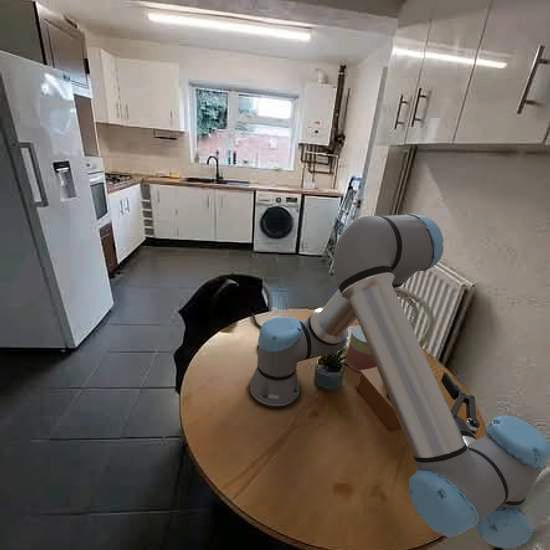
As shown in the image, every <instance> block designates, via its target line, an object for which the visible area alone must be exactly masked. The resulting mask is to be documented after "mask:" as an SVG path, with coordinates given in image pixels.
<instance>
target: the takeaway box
mask: <svg viewBox="0 0 550 550" xmlns="http://www.w3.org/2000/svg"><path fill="white" fill-rule="evenodd" d="M359 373H360V375H359V380H358V385H357V390H358V391H359V392H360V394H361V395H362V396H363V398H364V399H365V400H366V401H367V402H368V404H369V405H370V406H371V407H372V409H373V410H374V411H375V413H376V414H377V415H378V416H379V418H380V419H381V420H382V422H383V423H384V424H385V425H386V426H387V428H388V430H392V429H395V428H399V427H401V425H400V423H399V420H398V418H397V415H396V413H395V410H394V408H393V405H392V403H391V401H390V400H389V399H388V398H387V397H386V395H387V391H386V388H385V386H384V383H383V381H382V378H381V376H380V373H379V371H378V369H377V367H375V368H370V369H365V370H360V372H359Z"/></svg>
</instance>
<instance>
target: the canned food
mask: <svg viewBox="0 0 550 550" xmlns="http://www.w3.org/2000/svg"><path fill="white" fill-rule="evenodd" d="M345 362H346V364H347V365H348V366H349V367H350V368H351V369H353V370H355V371H357V372H359V373H360V370H365V369H370V368H375V367H377V366H376V364H375V361H374V359H373V356H372V354H371V351H370V349H369V346H368V344H367V341H366V339H365V337H364V334H363V332H362V329H361V327H360V324H358V325H355V326H353V327H352V328H351V332H350V338H349V343H348V348H347V353H346V357H345Z"/></svg>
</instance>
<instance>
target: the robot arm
mask: <svg viewBox="0 0 550 550" xmlns="http://www.w3.org/2000/svg"><path fill="white" fill-rule="evenodd" d="M444 241H445V240H444V236H443V232H442V230H441V228H440V227H439V225H438V224H437V223H436V222H435V221H434V220H433V219H431V218H430V217H428V216H425V215H421V214H414V213H408V214H407V213H406V214H392V215H366V216H361V217H359V218H356V219H355V220H353V221H351V222H350V223H349V224H347V225H346V226H345V227H344V229H342V231H341V233H340V234H339V236H338V238H337V240H336V243H335V246H334V250H333V261H332V262H333V263H332V266H333V272H334V274H333V275H334V278H335V282H336V285H337V288H338V289H337V290H336V291H335V292H334V294H333V295H332V296H331V298H330V299H329V300H328V301H327V303H326V304H325V305H324V306H323V307H318V308H316V309H315V310H314V311H313V312H312V313H311V314H310V315H309V317H308V318H305V319H300V320H298V319H297V318H295V317H293V316H286V315H278V316H273V317H270V318H269V319H267V320H265V321H264V322H263V323H262V325H260V323H258V321H257V319H256V315H255V313H253V312H251V313H250V316H252V320H253V322H254V324H255V326H256V327H258V328H259V335H258V339H257V342H258V345H257V362H256V363H257V365H256V368H255V370H254V372H253V374H252V377H251V379H250V383H249V393H250V396H251V397H252V399H253V400H254V401H255V402H256V403H257V404H258V405H261V406H263V407H265V408H268V409H284V408H286V407H290V406H292V405H294V403H295V402H297V400H298V399H299V396H300V390H301V385H300V382H299V381H300V380H299V378H298V377H299V376H298V374H297V366H298V363H300V362H303V361H308V360H311V359H315V358H319V357H323V356H327V355H332V354H335V353H337V352H339V351H341V350H343V349H344V348H345V346H346V345H347V343H348V340H349V339H348V337H349V330H348V329H349V328H350V327H351V326H352V325H353V324H354V322H355V321H357V322H358V325H360V327H361V329H362V332H363V334H364V337H365V339H366V341H367V344H368V346H369V349H370V351H371V354H372V356H373V359H374V361H375V364H376V366H377V369H378V371H379V373H380V376H381V378H382V381H383V383H384V386H385V388H386V391H387V395H386V397H387V398H388V399H389V400H390V401H391V403H392V405H393V408H394V410H395V413H396V415H397V418H398V420H399V423H400V425H401V426H400V427H401V430H402V432H403V435H404V437H405V440H406V442H407V446H408V447H409V450H410V453H411V454H412V457H413V460H414V463H415V465H416V468H417V470H416V471H415V472H414V474H412V475H411V476H410V478H409V480H408V487H409V492H408V494H409V498H410V500H411V503H412V506H413V508H414V509H415V511H416V513H417V514H418V516H419V517H420V519H421V520H422V521H423V522H424V524H426V525H427V527H428V528H430V529H431V530H433V532H435V533H437V534H439V535H441V536H443V537H446V538H454V537H457V536H459V535H460V534H462V533H465V532H467V531H469V530H471V529H472V528H476V530H477V532H478V534H479V535H480V537H481V538H482V539H483V541H484V542H486V544H489V545H490V546H493V547H495V548H502V549H510V548H516V547H519V546H522V545H524V544H525V543H527V542H528V541H529V540H530V538H531V537H532V534H533V530H532V525H531V522H530V521H529V518H527V514H526V513H525V512H524V511H523V509H522V505H523V504H524V502H525V500H526V497H527V495H528V493H529V492H530V491H531V489H532V487H533V486H534V484H535V483H536V481H537V479H538V478H539V476H540V474H541V473H542V471H543V470H545V469H546V467H547V466H546V464H547V462H548V460H549V457H550V443H549V442H548V440H547V438H546V437H545V436H544V435H543V434H542V433H541V432H540V431H539V430H538V429H537V428H535V427H534V426H532V425H530V424H529V423H528V422H526V421H525V420H523V419H520V418H518V417H514V416H511V415H497V416H495V417H494V418H492V419H491V421H490V423H489V425H487V426H486V427H485V433H484V434H483V435H482V436H481V437H479V438H476V436H475V435H476V434H477V433H478V431H479V429H480V426H481V424H480V421H479V420H478V418H477V408H476V405H477V404H476V397H475V396H474V395H473V394H469V395H467V394H466V393H465V392H463V391H462V390H461V388H460V386H459V385H458V384H455V383H454V381H453V380H452V378H451V377H450V376H449V374H448V373H447V372H443V374H442V377H441V379H440V382H441V384H442V386H444V388H445V390H446V391H447V393H448V395H449V396H450V397H451V399H452V400H453V401H454V403H453V405H452V407H451V409H450V407H449V405H448V403H447V401H446V398H445V396H444V394H443V392H442V390H441V388H440V385H439V383H438V382H437V381H438V380H437V379H436V377H435V375H434V373H433V369H432V368H431V366H430V364H429V362H428V360H427V358H426V355H425V353H424V350H423V349H422V347H421V345H420V343H419V340H418V338H417V335H416V333H415V331H414V330H413V327H412V325H411V323H410V321H409V319H408V317H407V315H406V312H405V310H404V308H403V305H402V304H401V301H400V299H399V297H398V295H397V293H396V290H395V289H397V288H400V287H402V285H404V284H405V283H406V282H407V281H408V280H409V279H410V278H412V276H413V275H414V274H416V273H418V272H426V271H428V270H429V269H432V268H434V267H435V266H437V265H438V263H439V262H440V260H441V258H442V256H443V253H444ZM463 403H464V404H465V413H466V415H465V418H466V420H465V419H463V418H462V417H460V416H459V415H458V414H459V411H460V409H461V407H462V406H463Z"/></svg>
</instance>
